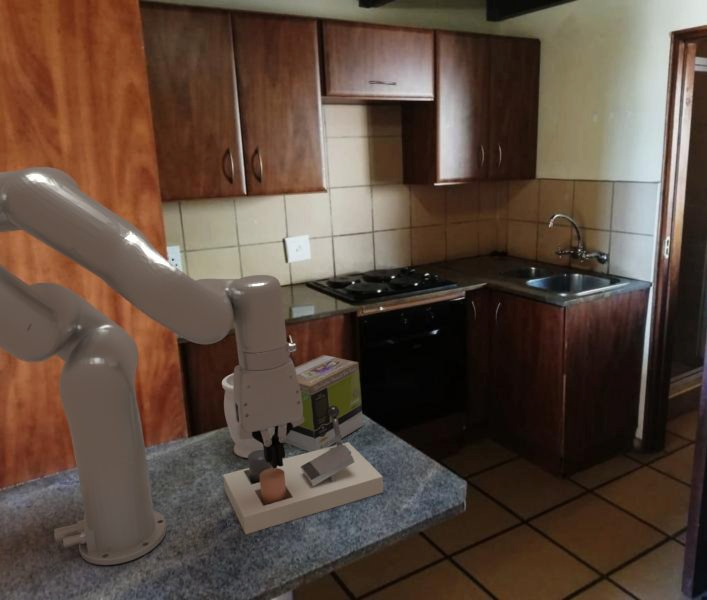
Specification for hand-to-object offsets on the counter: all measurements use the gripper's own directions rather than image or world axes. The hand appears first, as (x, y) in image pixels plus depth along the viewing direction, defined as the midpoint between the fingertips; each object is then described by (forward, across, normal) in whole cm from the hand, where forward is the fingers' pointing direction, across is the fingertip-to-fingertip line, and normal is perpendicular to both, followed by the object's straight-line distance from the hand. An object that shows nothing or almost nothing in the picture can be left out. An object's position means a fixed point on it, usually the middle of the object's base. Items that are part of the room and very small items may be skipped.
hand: (275, 463), depth 94 cm
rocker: (+4, -9, -1) cm, 10 cm away
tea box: (+9, -16, -21) cm, 28 cm away
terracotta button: (+6, +1, 0) cm, 6 cm away
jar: (+9, -2, -22) cm, 24 cm away
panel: (+8, -5, -3) cm, 10 cm away
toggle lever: (+4, -14, -7) cm, 17 cm away
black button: (+6, +1, -7) cm, 10 cm away
